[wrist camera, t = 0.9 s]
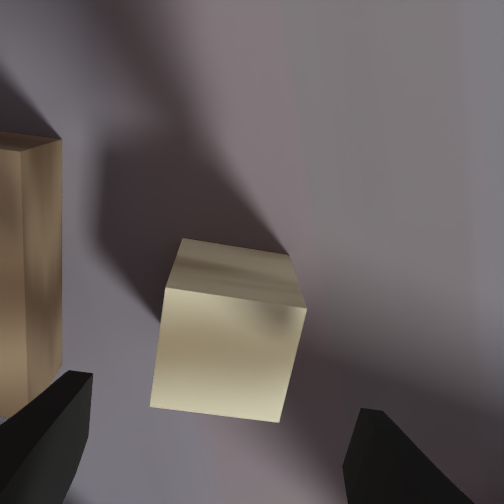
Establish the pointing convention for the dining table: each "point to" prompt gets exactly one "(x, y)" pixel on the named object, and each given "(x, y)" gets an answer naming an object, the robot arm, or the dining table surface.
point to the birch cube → (228, 332)
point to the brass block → (29, 267)
